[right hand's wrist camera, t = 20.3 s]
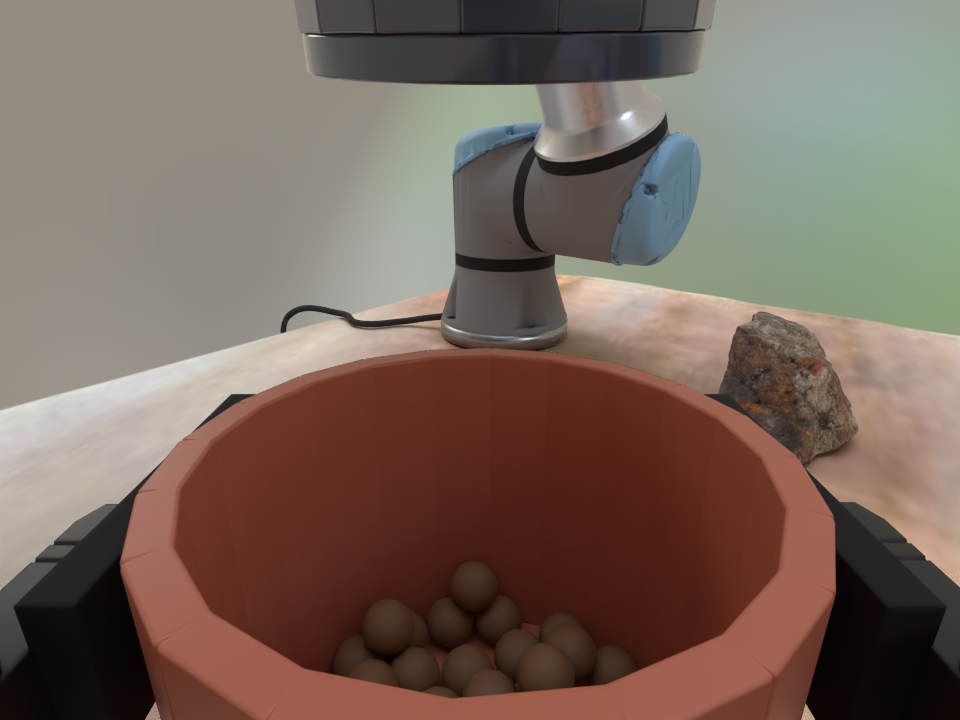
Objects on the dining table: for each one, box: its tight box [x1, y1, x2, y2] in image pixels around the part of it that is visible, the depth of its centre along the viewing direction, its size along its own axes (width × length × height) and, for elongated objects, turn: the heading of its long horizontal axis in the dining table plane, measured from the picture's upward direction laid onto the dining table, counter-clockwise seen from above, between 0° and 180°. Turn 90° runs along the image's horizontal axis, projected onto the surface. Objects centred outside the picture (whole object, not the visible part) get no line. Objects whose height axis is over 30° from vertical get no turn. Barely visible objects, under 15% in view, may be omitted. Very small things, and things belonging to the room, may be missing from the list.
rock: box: [718, 312, 858, 465], centre depth 44 cm, size 14×9×10 cm
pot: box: [120, 348, 836, 720], centre depth 11 cm, size 10×10×9 cm
